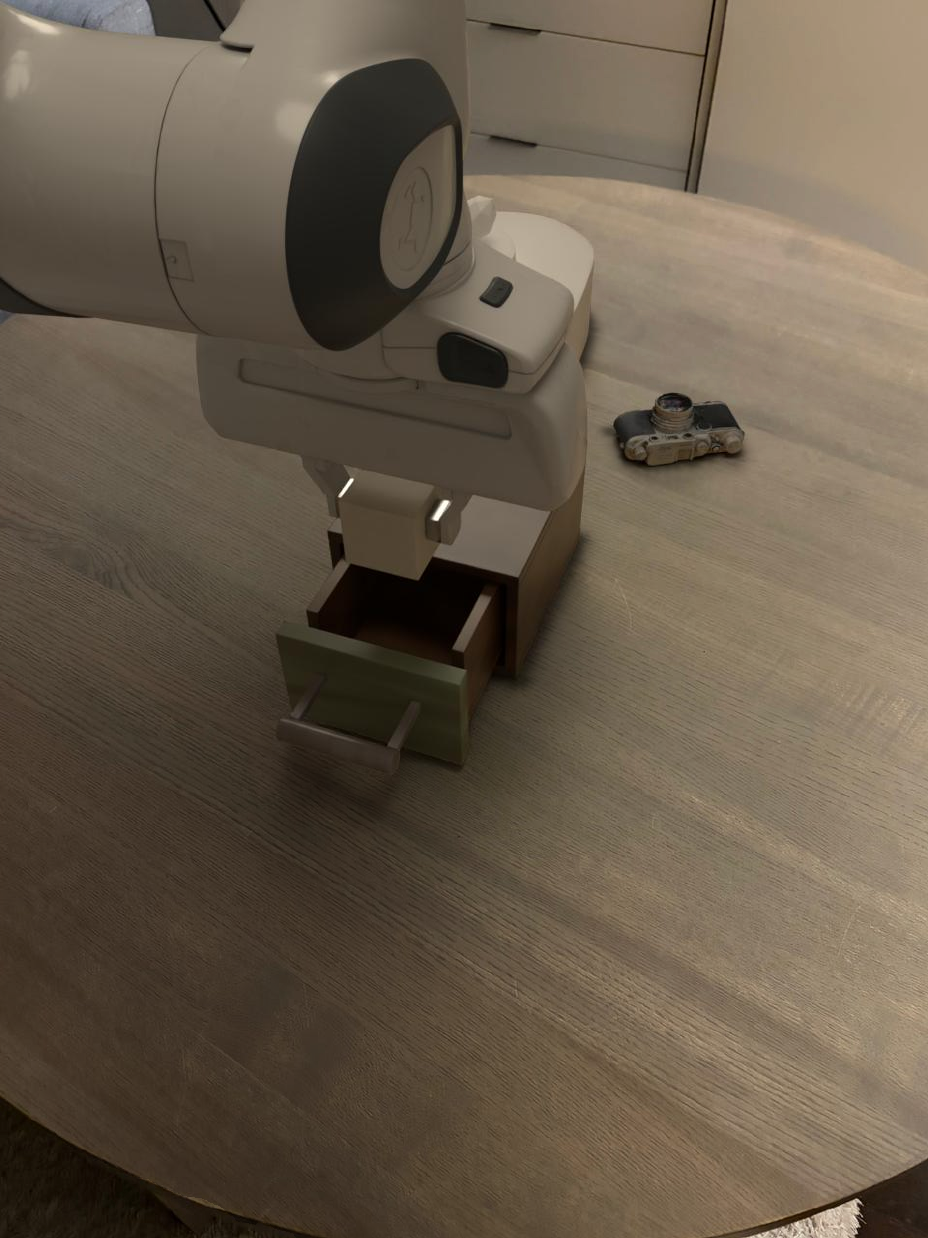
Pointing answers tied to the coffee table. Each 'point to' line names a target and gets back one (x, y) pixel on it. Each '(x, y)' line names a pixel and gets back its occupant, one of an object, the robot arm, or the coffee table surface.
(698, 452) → the camera
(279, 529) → the coffee table surface
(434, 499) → the block
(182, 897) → the coffee table surface
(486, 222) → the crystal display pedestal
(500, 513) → the cabinet
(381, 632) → the drawer
